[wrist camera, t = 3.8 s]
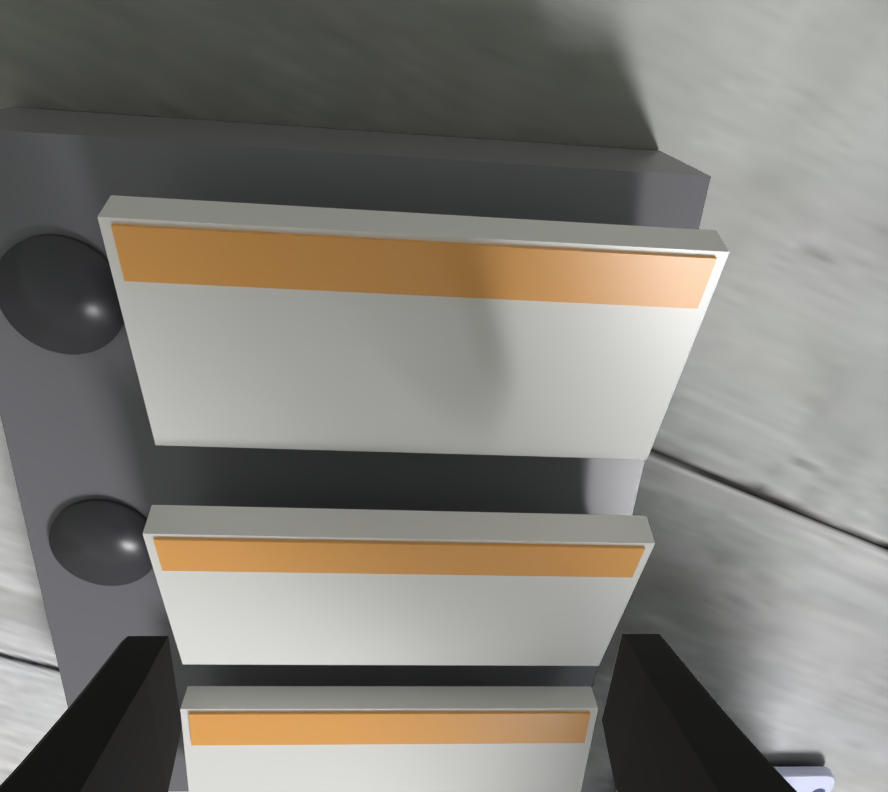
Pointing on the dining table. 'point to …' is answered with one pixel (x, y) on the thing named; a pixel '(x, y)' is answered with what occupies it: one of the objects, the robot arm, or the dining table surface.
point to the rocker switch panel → (251, 469)
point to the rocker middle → (393, 584)
